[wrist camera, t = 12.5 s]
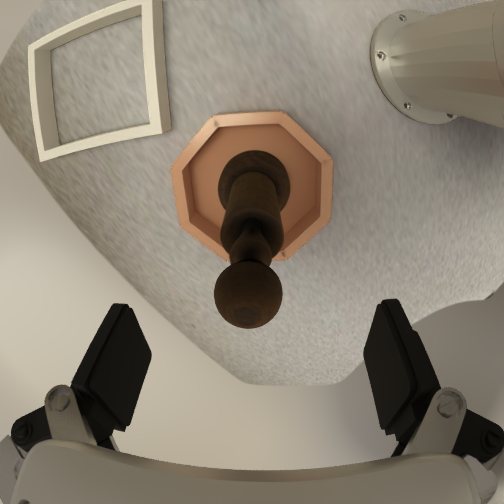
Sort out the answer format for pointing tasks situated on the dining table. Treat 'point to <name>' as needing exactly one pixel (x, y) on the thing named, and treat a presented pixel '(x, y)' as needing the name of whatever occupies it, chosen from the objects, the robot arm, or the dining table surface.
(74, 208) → the dining table surface
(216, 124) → the terracotta bowl
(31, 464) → the robot arm
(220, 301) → the dark brown knobbed post
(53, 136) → the open rectangular frame
